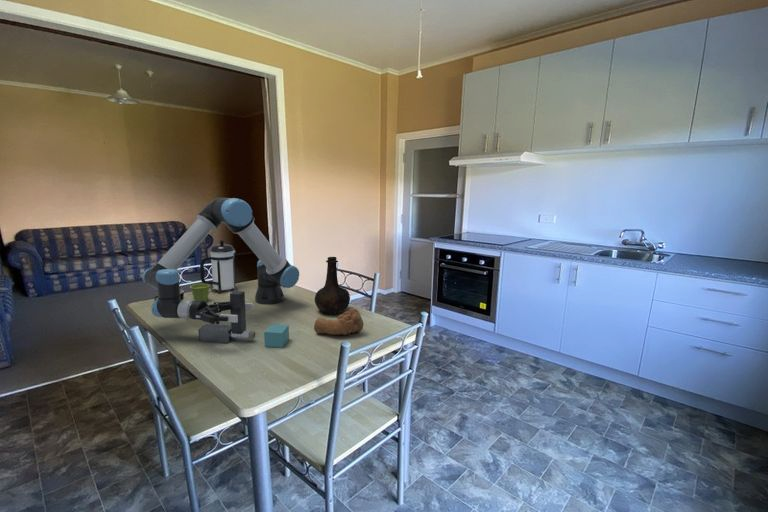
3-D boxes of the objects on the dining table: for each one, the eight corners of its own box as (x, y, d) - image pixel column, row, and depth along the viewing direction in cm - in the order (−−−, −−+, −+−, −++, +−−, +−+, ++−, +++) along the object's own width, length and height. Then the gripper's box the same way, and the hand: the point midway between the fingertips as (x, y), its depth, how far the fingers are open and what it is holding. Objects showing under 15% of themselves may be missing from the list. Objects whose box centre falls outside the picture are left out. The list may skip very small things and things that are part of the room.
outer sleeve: (199, 341, 136) (198, 329, 136) (207, 335, 142) (206, 323, 141) (228, 343, 136) (227, 331, 135) (235, 336, 142) (235, 325, 141)
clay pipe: (353, 350, 142) (369, 327, 154) (350, 329, 137) (367, 308, 149) (315, 339, 149) (332, 319, 161) (311, 320, 144) (329, 300, 156)
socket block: (264, 346, 134) (264, 332, 133) (272, 337, 142) (272, 324, 141) (282, 347, 134) (281, 333, 133) (289, 338, 142) (288, 325, 140)
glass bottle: (344, 318, 166) (345, 262, 161) (309, 315, 169) (308, 259, 163) (353, 306, 183) (354, 255, 178) (321, 304, 186) (321, 253, 181)
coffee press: (216, 286, 212) (213, 237, 206) (242, 287, 212) (240, 239, 206) (201, 294, 195) (197, 242, 189) (228, 295, 195) (226, 243, 189)
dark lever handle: (205, 338, 137) (202, 292, 134) (210, 334, 141) (207, 289, 138) (251, 341, 136) (249, 294, 133) (256, 336, 140) (254, 291, 137)
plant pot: (191, 299, 185) (190, 284, 184) (211, 298, 189) (210, 282, 188) (190, 305, 177) (189, 289, 175) (210, 303, 181) (209, 287, 179)
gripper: (211, 308, 150) (259, 310, 149) (173, 330, 126) (230, 334, 125) (210, 291, 149) (258, 294, 148) (172, 311, 124) (229, 314, 123)
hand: (245, 312), depth 136 cm, fingers open, 13 cm apart
